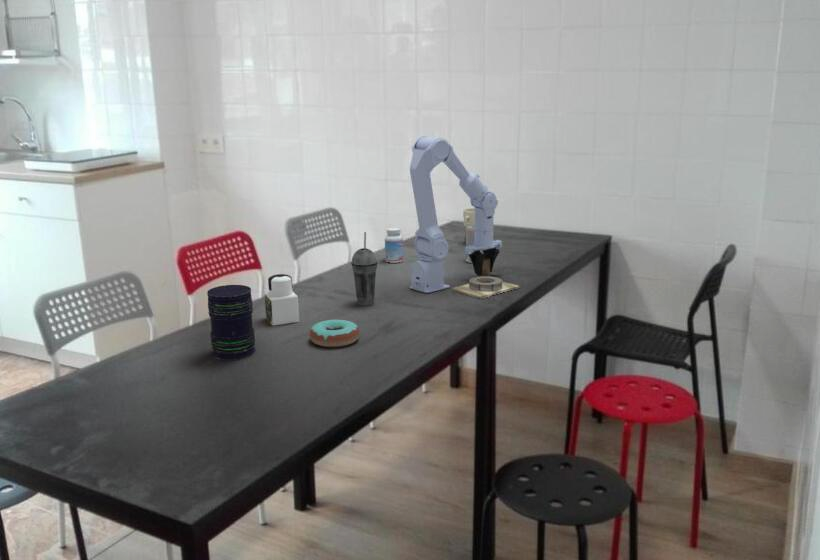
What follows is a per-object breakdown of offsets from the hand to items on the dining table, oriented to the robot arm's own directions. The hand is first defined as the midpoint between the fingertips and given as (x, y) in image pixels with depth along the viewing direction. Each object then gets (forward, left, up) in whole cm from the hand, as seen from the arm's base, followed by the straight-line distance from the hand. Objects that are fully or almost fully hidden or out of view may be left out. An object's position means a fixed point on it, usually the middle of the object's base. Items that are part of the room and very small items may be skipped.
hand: (483, 273), depth 235 cm
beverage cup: (-43, +4, -2) cm, 43 cm away
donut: (-67, -15, -2) cm, 69 cm away
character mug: (+32, +36, -2) cm, 48 cm away
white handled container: (-68, +7, -2) cm, 68 cm away
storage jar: (-89, -6, -2) cm, 89 cm away
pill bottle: (-6, +36, -2) cm, 37 cm away
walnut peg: (0, 0, -2) cm, 2 cm away
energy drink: (+13, +17, -2) cm, 21 cm away
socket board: (-9, -9, -2) cm, 13 cm away
